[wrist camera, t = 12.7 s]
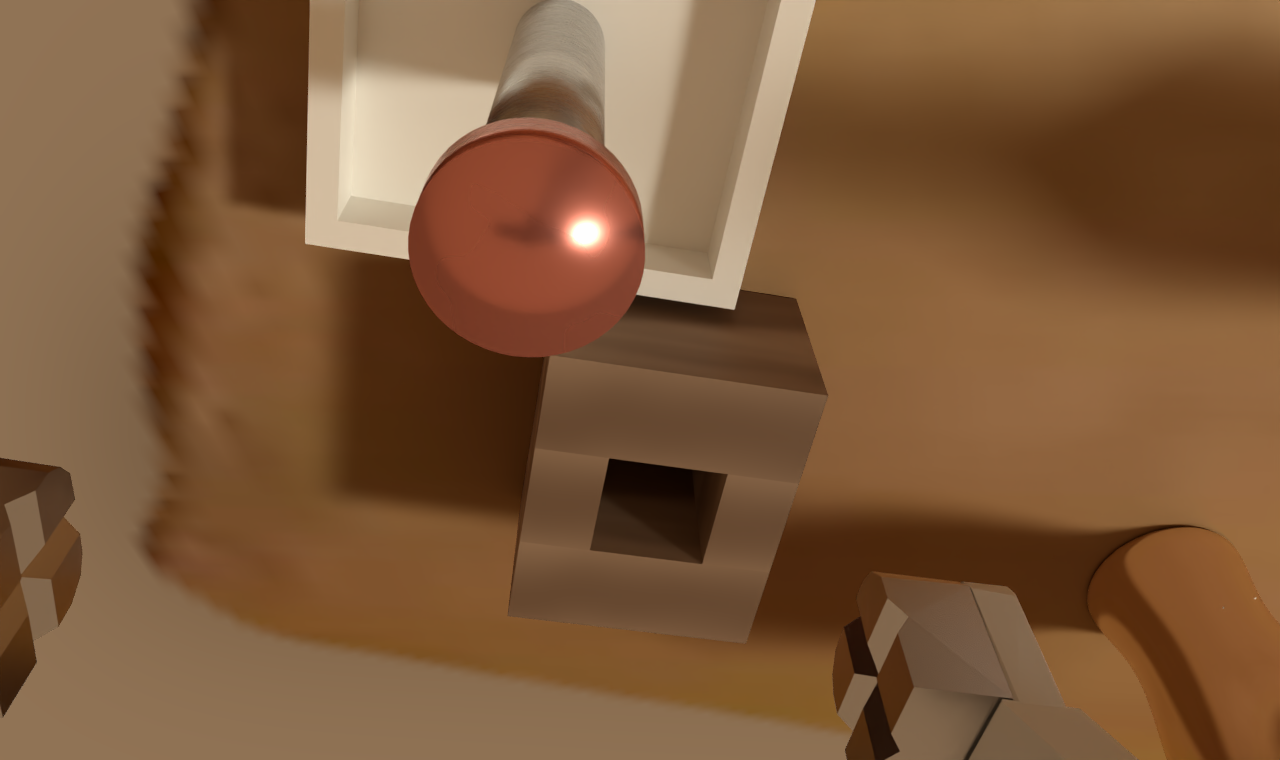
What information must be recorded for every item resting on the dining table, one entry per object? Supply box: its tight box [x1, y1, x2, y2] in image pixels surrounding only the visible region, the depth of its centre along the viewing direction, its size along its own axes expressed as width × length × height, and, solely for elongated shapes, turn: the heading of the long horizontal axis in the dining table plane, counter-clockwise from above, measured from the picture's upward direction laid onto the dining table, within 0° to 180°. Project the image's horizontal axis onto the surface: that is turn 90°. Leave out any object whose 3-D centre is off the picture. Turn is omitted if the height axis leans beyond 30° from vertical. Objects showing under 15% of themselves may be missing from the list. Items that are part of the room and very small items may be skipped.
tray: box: [305, 0, 816, 310], centre depth 29 cm, size 13×13×2 cm
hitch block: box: [508, 290, 828, 644], centre depth 35 cm, size 10×8×6 cm
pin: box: [408, 0, 645, 357], centre depth 24 cm, size 4×4×14 cm
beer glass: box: [1087, 527, 1280, 760], centre depth 36 cm, size 7×7×15 cm
